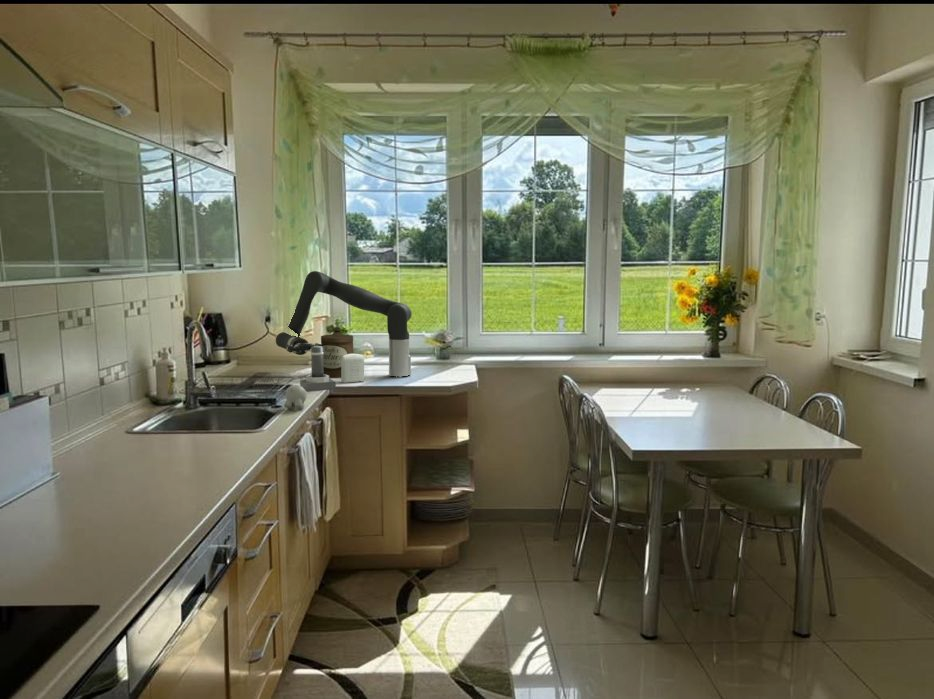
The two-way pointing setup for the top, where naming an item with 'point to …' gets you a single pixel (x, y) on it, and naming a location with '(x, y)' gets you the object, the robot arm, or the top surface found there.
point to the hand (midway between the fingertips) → (309, 349)
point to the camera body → (317, 383)
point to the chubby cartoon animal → (295, 397)
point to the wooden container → (335, 351)
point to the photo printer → (352, 368)
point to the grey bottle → (317, 361)
